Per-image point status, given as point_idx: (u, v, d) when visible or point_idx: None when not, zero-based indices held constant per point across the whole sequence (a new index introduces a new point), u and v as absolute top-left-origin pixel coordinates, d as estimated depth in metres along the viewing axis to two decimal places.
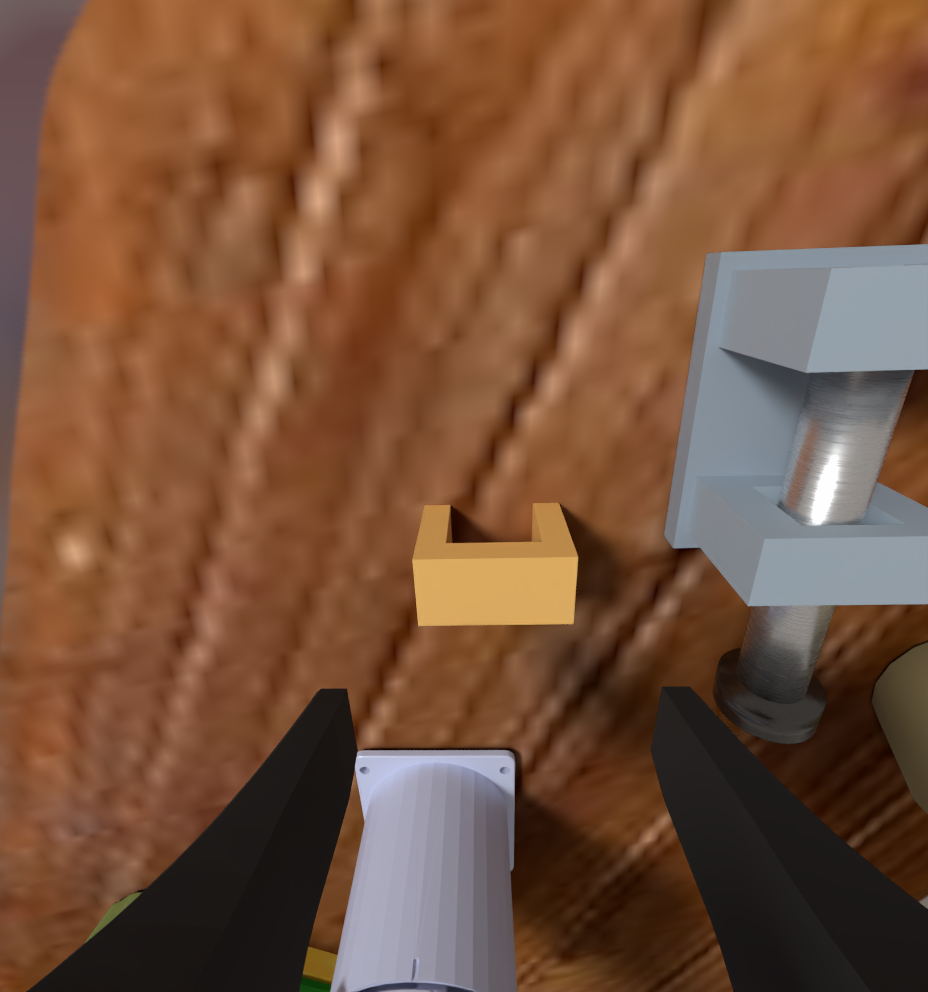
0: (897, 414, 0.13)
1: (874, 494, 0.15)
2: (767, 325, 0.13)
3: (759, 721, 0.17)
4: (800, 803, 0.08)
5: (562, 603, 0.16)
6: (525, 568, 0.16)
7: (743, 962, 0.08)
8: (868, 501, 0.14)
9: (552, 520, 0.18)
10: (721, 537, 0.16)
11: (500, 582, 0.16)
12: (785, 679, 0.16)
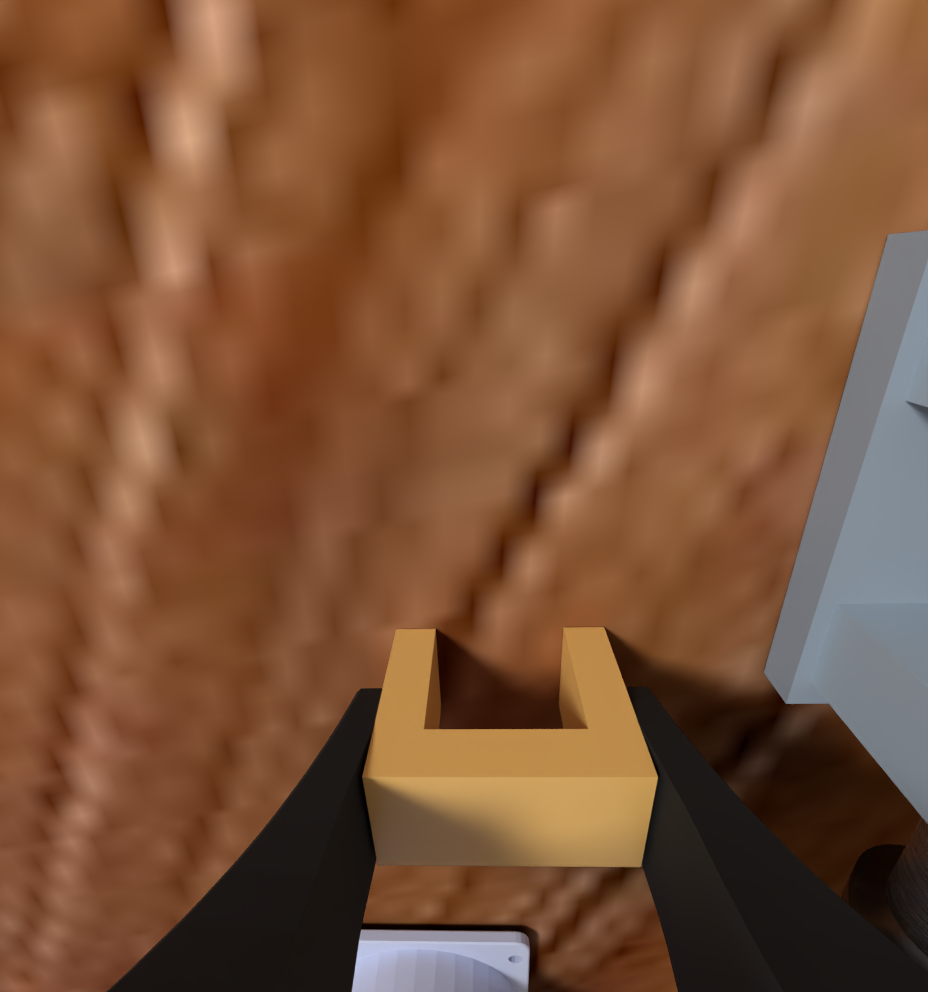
0: None
1: None
2: None
3: None
4: (741, 803, 0.08)
5: (624, 840, 0.09)
6: (562, 792, 0.09)
7: (685, 961, 0.08)
8: None
9: (599, 670, 0.11)
10: (908, 737, 0.09)
11: (517, 810, 0.09)
12: None
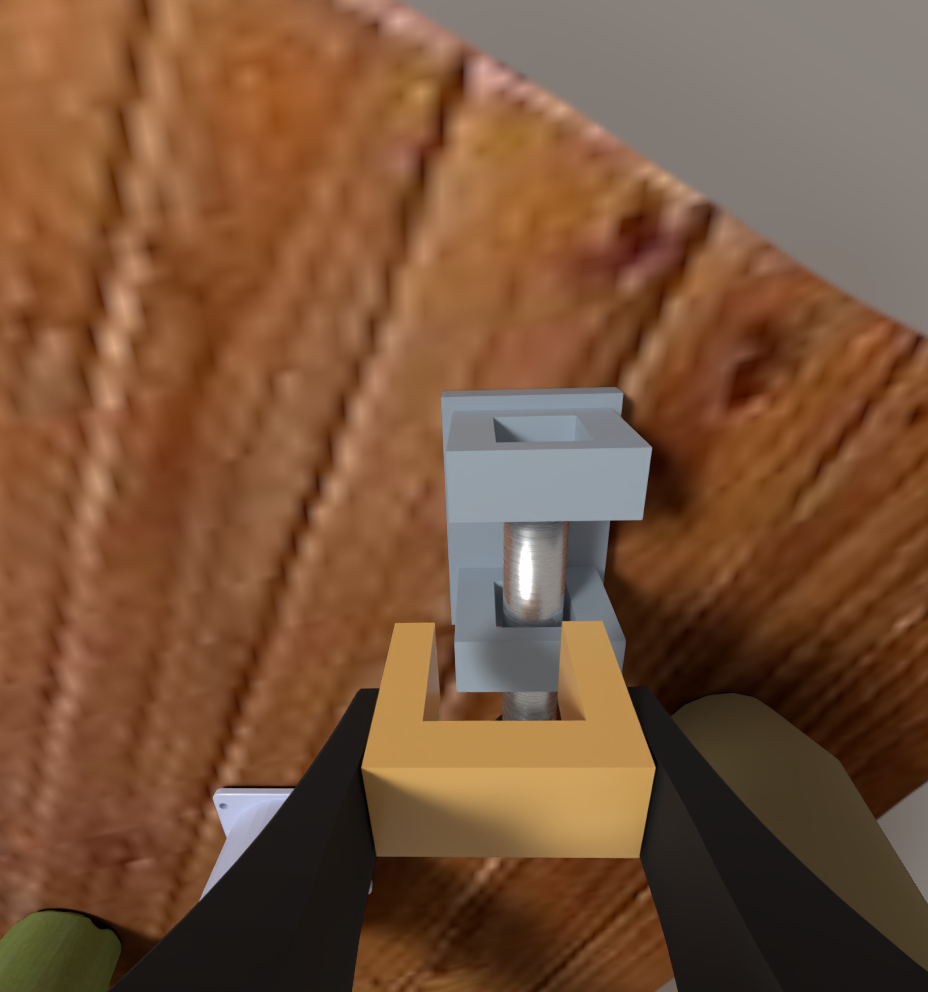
0: (557, 542, 0.16)
1: (584, 592, 0.18)
2: None
3: None
4: (741, 803, 0.08)
5: (622, 831, 0.09)
6: (560, 782, 0.09)
7: (685, 961, 0.08)
8: (553, 606, 0.17)
9: (597, 663, 0.11)
10: None
11: (516, 801, 0.09)
12: None
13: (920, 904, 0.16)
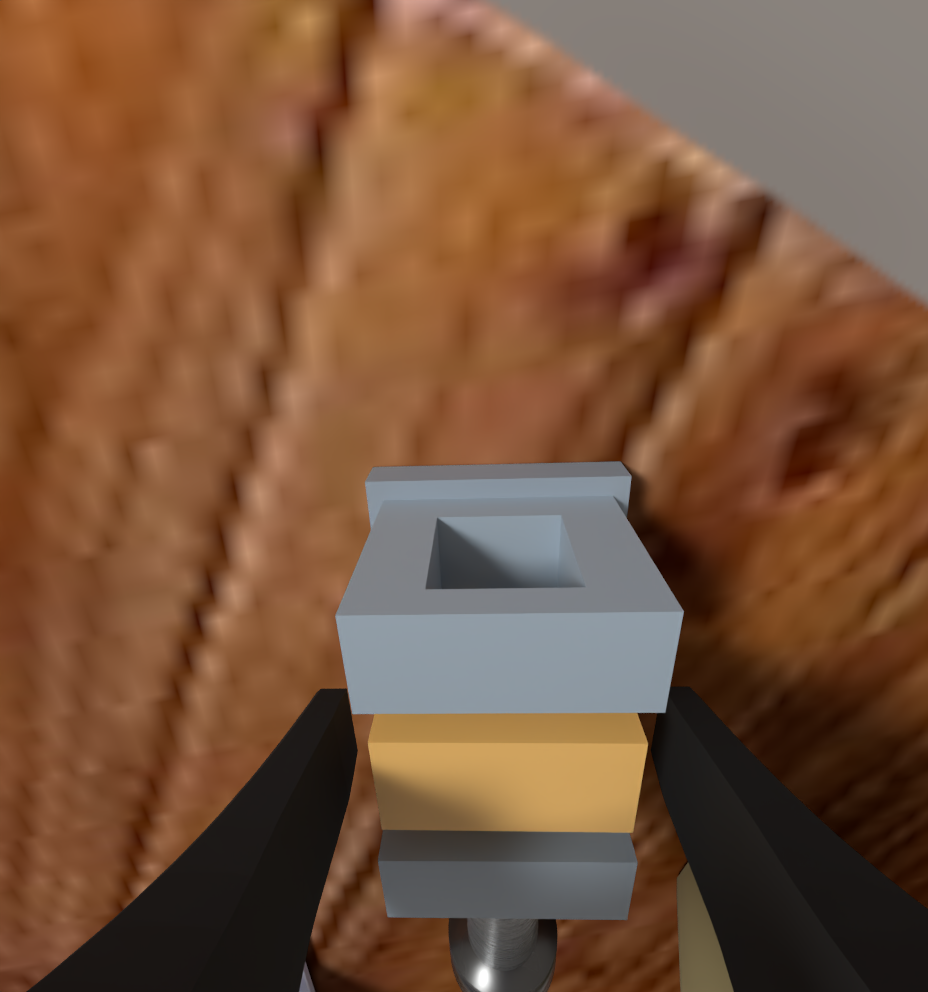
0: None
1: None
2: None
3: (471, 991, 0.14)
4: (800, 803, 0.08)
5: (616, 806, 0.10)
6: (557, 758, 0.09)
7: (743, 962, 0.08)
8: None
9: None
10: None
11: (515, 776, 0.09)
12: (494, 949, 0.14)
13: None
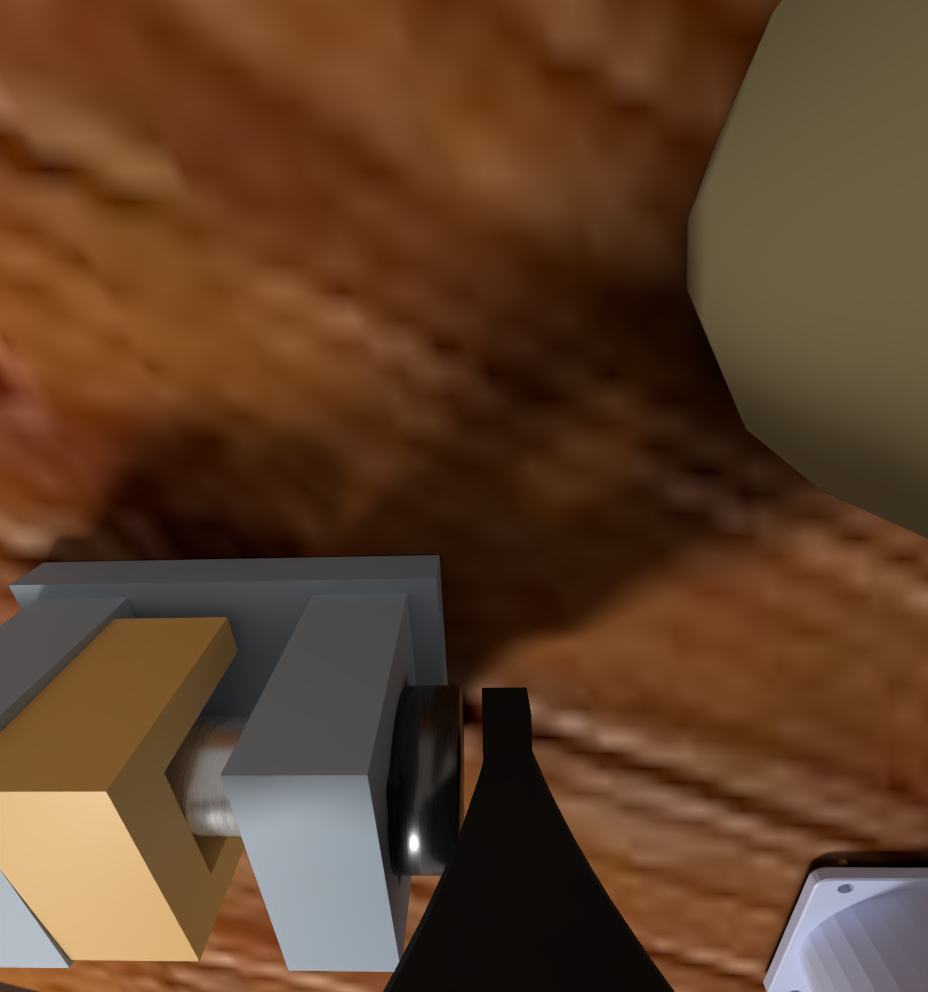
0: None
1: None
2: None
3: (424, 874, 0.09)
4: (550, 803, 0.08)
5: (61, 808, 0.08)
6: (11, 854, 0.08)
7: None
8: None
9: None
10: None
11: (60, 881, 0.08)
12: None
13: None
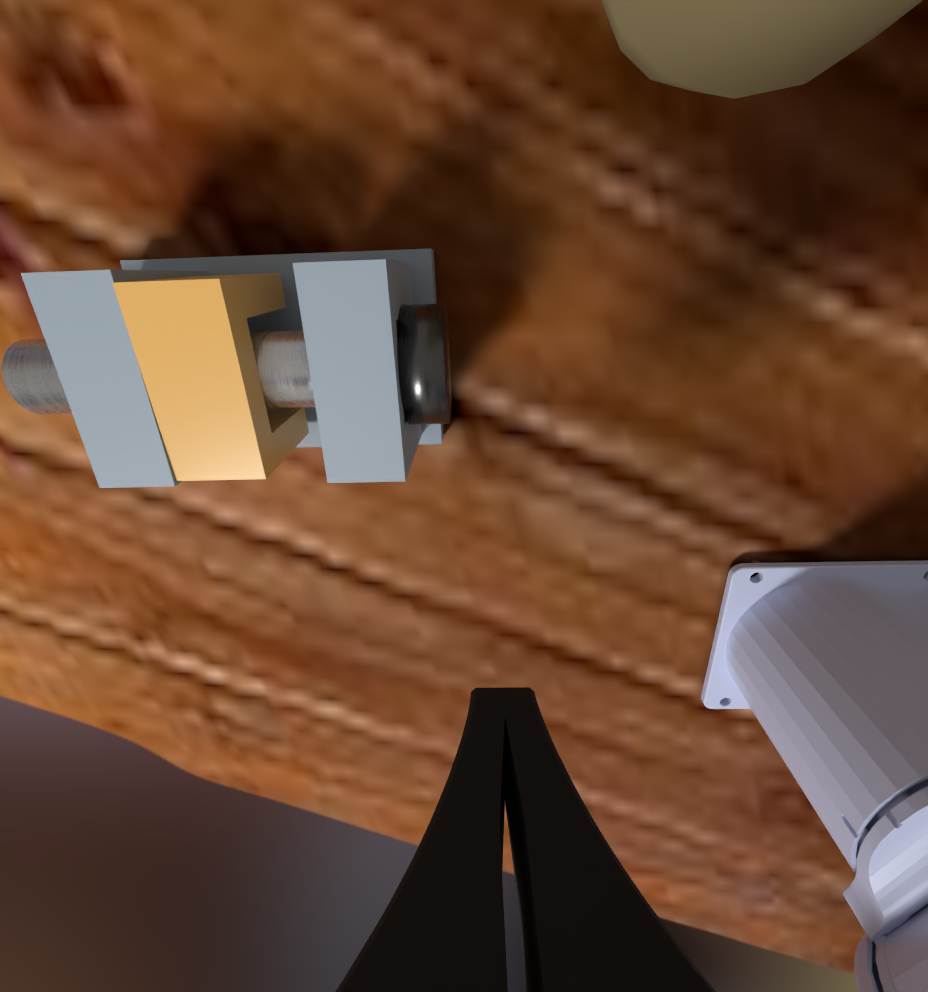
0: (43, 360, 0.14)
1: None
2: None
3: (421, 410, 0.14)
4: (579, 802, 0.08)
5: (189, 298, 0.12)
6: (149, 352, 0.12)
7: (526, 959, 0.08)
8: None
9: None
10: None
11: (178, 382, 0.13)
12: None
13: None
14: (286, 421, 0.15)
